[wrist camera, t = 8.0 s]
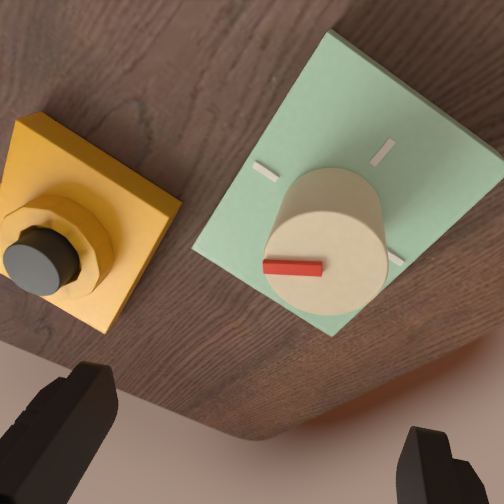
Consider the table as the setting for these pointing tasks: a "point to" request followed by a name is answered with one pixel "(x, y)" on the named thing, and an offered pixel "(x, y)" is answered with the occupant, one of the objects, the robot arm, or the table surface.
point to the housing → (83, 214)
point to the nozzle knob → (328, 243)
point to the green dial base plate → (352, 165)
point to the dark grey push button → (41, 261)
